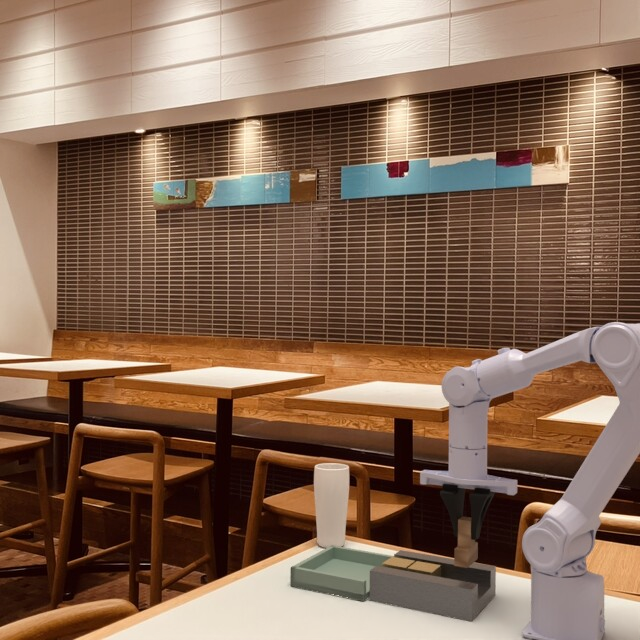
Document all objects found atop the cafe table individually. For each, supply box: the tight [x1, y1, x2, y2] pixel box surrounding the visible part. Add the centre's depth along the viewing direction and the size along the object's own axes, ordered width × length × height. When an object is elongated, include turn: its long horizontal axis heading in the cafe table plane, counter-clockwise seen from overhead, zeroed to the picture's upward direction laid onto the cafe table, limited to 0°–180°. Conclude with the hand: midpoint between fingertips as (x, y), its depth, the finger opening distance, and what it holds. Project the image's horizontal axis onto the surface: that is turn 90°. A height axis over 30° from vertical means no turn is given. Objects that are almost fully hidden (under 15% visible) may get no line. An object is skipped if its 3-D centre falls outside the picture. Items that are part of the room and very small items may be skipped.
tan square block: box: [407, 561, 441, 577], centre depth 115 cm, size 4×4×2 cm
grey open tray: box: [369, 549, 497, 622], centre depth 114 cm, size 16×12×4 cm
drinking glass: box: [313, 462, 350, 549], centre depth 141 cm, size 7×7×15 cm
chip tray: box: [289, 545, 394, 602], centre depth 121 cm, size 13×14×3 cm
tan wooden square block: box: [382, 557, 415, 571], centre depth 117 cm, size 4×4×2 cm
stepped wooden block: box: [453, 516, 479, 568], centre depth 111 cm, size 2×5×6 cm, turn 151°
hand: (467, 536), depth 112 cm, fingers closed on stepped wooden block, 2 cm apart
